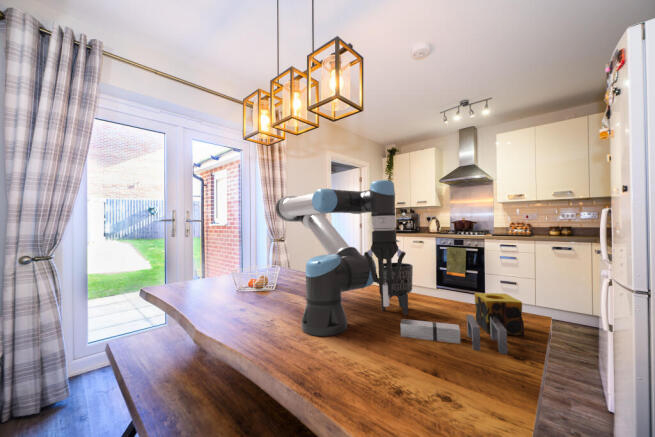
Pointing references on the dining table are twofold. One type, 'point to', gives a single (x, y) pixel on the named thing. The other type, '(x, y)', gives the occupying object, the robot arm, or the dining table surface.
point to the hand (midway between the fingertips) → (386, 305)
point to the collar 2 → (498, 334)
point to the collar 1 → (473, 332)
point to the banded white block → (430, 331)
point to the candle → (499, 312)
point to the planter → (400, 285)
